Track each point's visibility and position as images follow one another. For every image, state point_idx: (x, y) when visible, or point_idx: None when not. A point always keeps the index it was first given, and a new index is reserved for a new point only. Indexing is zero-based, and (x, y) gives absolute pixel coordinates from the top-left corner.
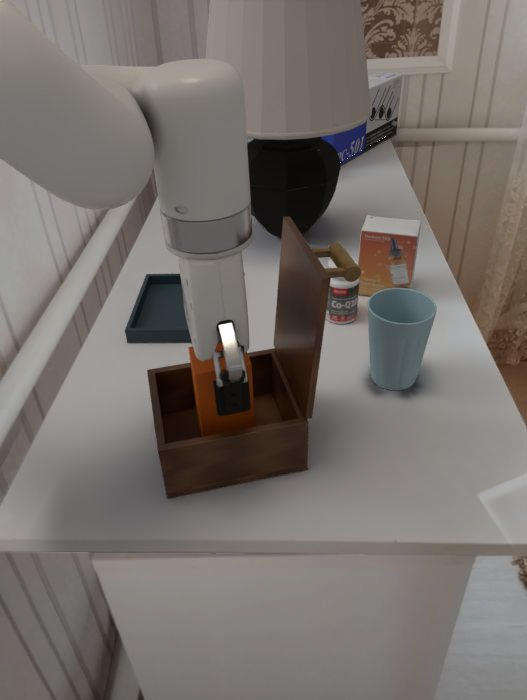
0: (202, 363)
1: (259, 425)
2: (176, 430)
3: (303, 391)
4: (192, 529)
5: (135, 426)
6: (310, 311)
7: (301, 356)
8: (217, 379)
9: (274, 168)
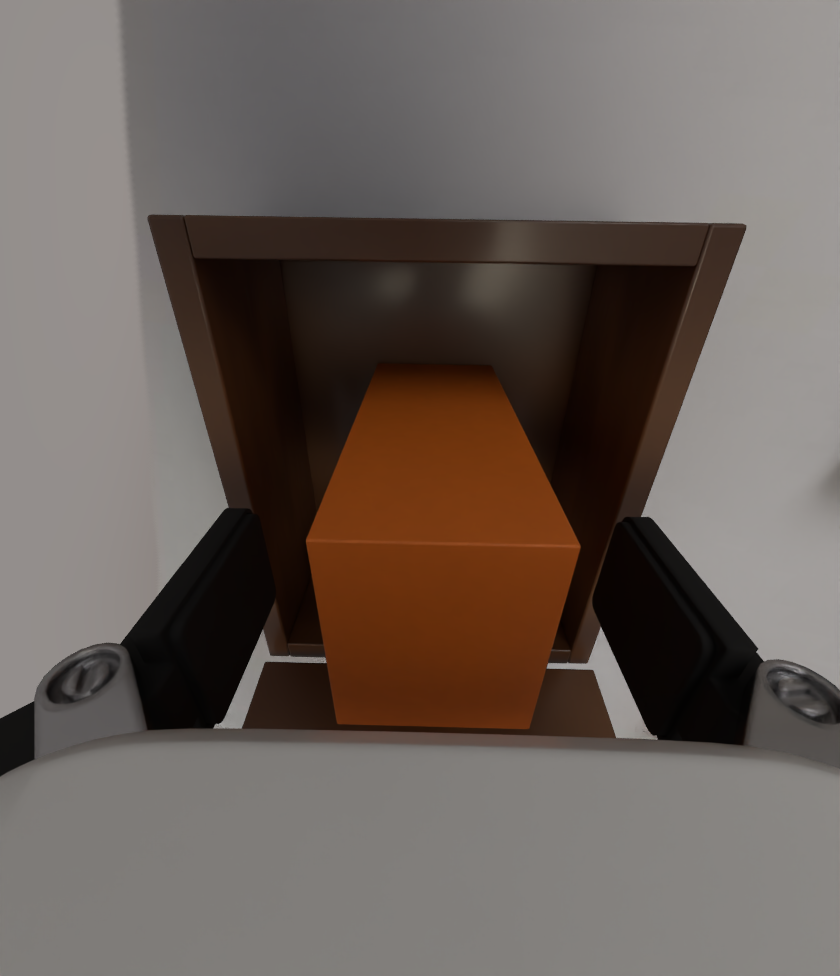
0: (394, 585)
1: None
2: (500, 295)
3: (285, 725)
4: (159, 283)
5: (601, 140)
6: None
7: None
8: (35, 707)
9: None
